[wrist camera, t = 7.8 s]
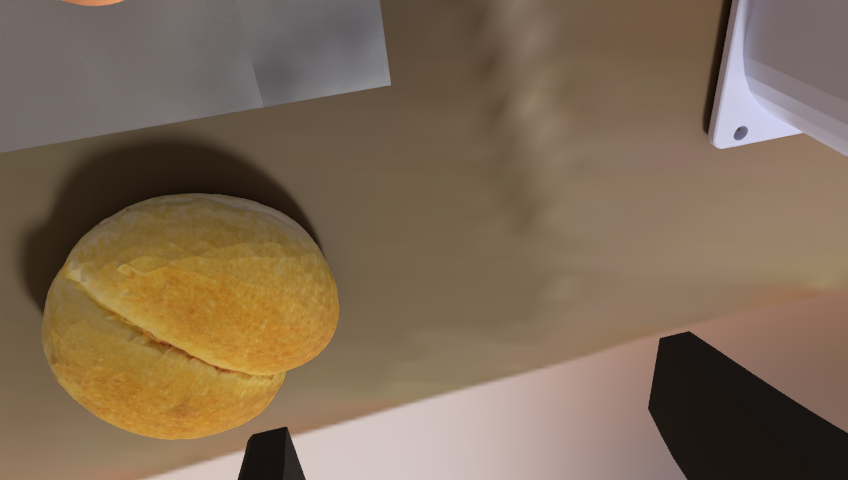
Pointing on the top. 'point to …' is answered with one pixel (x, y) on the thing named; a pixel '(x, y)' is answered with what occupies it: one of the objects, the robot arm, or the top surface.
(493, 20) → the top surface
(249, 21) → the slotted grey box
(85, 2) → the sausage
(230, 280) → the bread roll
